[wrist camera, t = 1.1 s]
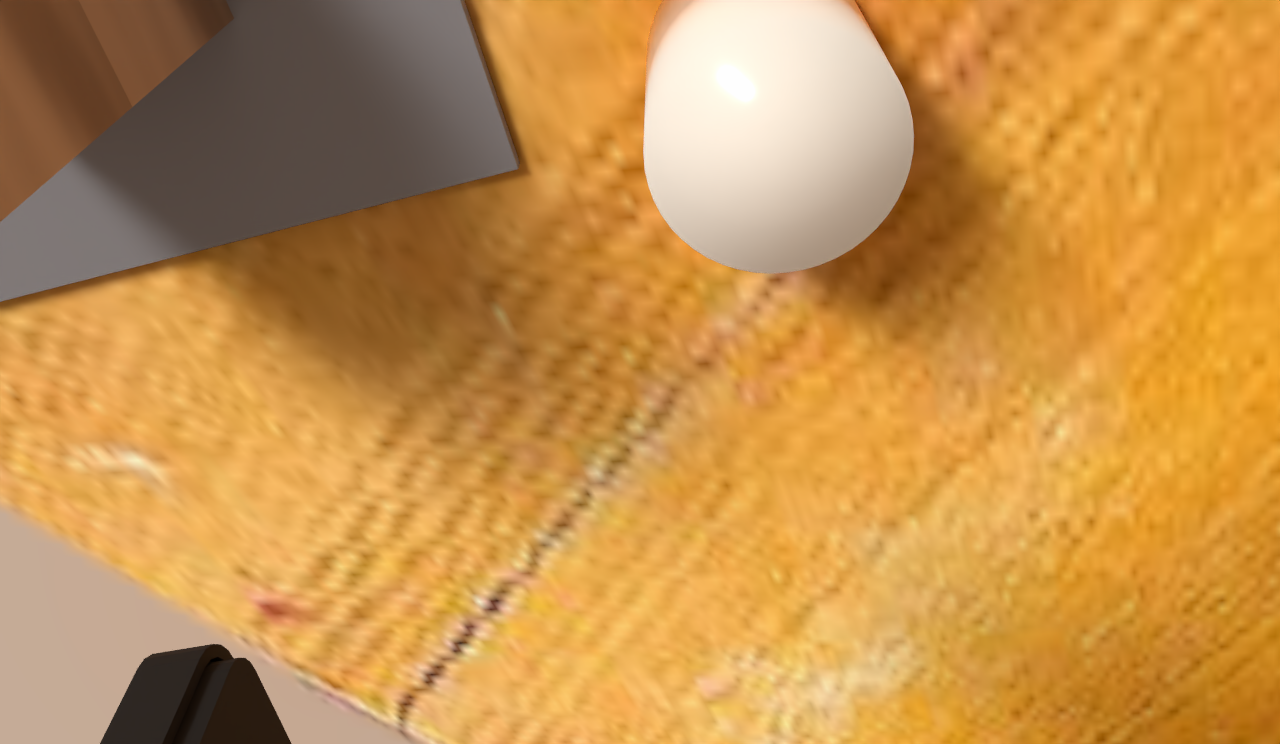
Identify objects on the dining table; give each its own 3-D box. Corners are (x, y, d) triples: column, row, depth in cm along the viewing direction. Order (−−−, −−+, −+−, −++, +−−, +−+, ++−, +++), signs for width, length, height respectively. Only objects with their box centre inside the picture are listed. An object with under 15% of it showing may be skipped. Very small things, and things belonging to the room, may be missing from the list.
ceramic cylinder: (844, -84, 26) (890, -17, 21) (882, 131, 28) (931, 239, 23) (621, -22, 27) (611, 58, 21) (677, 183, 29) (680, 298, 24)
